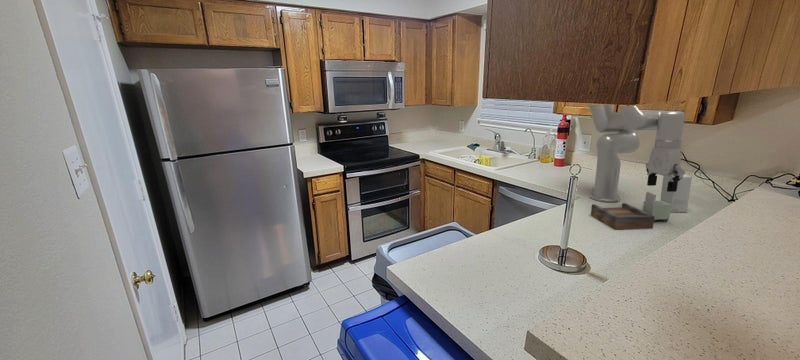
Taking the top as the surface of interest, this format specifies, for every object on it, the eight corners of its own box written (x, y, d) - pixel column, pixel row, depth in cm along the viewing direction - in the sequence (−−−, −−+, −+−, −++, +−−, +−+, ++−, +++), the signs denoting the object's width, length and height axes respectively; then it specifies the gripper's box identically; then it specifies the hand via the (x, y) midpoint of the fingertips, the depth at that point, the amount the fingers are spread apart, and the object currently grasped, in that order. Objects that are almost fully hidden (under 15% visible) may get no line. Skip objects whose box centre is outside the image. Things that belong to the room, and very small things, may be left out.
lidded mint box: (641, 218, 131) (645, 191, 128) (658, 217, 131) (662, 191, 128) (650, 222, 126) (655, 195, 123) (668, 221, 126) (673, 194, 123)
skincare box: (686, 212, 134) (693, 176, 130) (668, 212, 135) (675, 176, 132) (674, 206, 142) (680, 172, 138) (657, 206, 143) (663, 172, 140)
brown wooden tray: (590, 215, 136) (591, 204, 135) (623, 213, 136) (625, 203, 135) (615, 229, 120) (617, 217, 119) (652, 228, 120) (654, 216, 119)
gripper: (640, 142, 129) (635, 183, 133) (676, 147, 112) (669, 194, 116) (659, 141, 129) (653, 182, 133) (698, 146, 112) (690, 193, 116)
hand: (661, 188), depth 124 cm, fingers open, 9 cm apart
